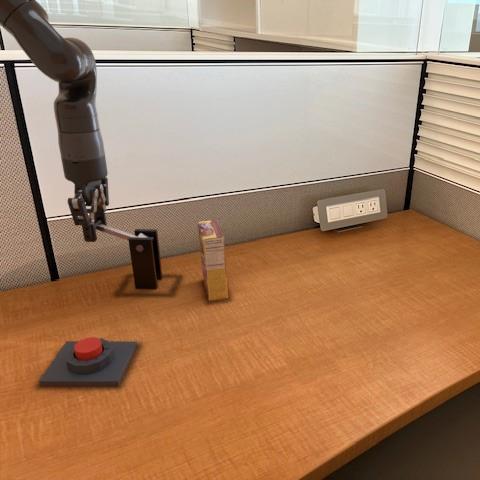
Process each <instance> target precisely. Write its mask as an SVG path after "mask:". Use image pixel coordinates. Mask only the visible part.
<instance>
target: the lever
mask: <svg viewBox="0 0 480 480" xmlns="http://www.w3.org/2000/svg"><path fill="white" fill-rule="evenodd" d="M102 222H103V220H102V219H101V218H99V217H98V218H96V219H95V220H94V224H95V229H96V231H99V232H102V233H105V234H108V235H111V236H114V237H117V238H120V239H123V240H125V241H126V240H127V241H128V239H129V238H130V237H144V238H152V241H153V237H151V236H148V235H145V234H142V233H140V234H139V235H138V236H135V234H131V233H129V232H126V231H123V230H120V229H117V228H114V227H111V226H109V225H107V226H105V225H102Z"/></svg>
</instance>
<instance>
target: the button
mask: <svg viewBox="0 0 480 480" xmlns="http://www.w3.org/2000/svg"><path fill="white" fill-rule="evenodd" d="M100 339H101V338H98V337H94V336H93V337H92V336H91V337H86V338H83V339H80V340H79V342H77V343H76V344H75V346H74V350H75V355H76V358H77V359H78V360H80V361H88V360H91V359H94V358H97V357H98V356H100V355H101V354H102V352H103V350H102V344H101V340H100Z"/></svg>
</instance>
